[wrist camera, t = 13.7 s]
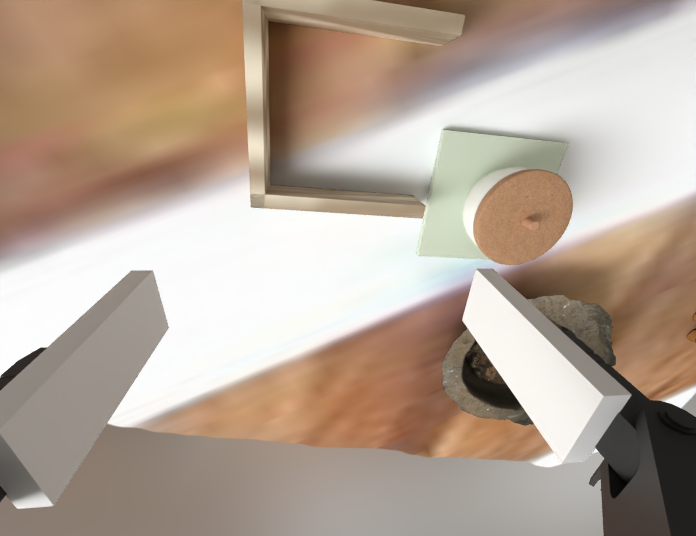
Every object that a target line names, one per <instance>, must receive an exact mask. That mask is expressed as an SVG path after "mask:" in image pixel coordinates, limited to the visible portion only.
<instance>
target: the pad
mask: <svg viewBox="0 0 696 536" xmlns="http://www.w3.org/2000/svg"><path fill="white" fill-rule="evenodd" d="M568 144H569V143H563V142H553V141H544V140H534V139H525V138H515V137H506V136H496V135H487V134H477V133H468V132H459V131H449V130H442V132H441V136H440V141H439V146H438V151H437V155H436V160H435V165H434V170H433V175H432V179H431V184H430V189H429V194H428V199H427V203H426V208H425V213H424V218H423V222H422V227H421V232H420V237H419V242H418V246H417V251H416V254H417V255H418V256H429V257H450V258H470V259H489V258H488V257H487V256H485V255H484V254H483V253H482V252H481V250H480V249H479V248H478V247H476V246H475V244H474V243H473V242H472V241H471V239H470V238H469V237H468V235H467V233H466V231H465V229H464V225H463V219H462V209H463V204H464V202H465V199H466V197H467V195H468V193H469V191H470V190H471V189H472V187H473V186H474V185H475V184H476V183H477V182H478V181H479V180H480V179H482V178H483V177H485V176H486V175H488V174H490V173H492V172H494V171H497V170H500V169H504V168H510V167H527V168H532V169H542V170H547V171H550V172H553V173H555V174H557V172H558V170H559V167H560V165H561V162H562V159H563V157H564V154H565V151H566V149H567V146H568Z"/></svg>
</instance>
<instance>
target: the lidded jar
mask: <svg viewBox="0 0 696 536" xmlns="http://www.w3.org/2000/svg"><path fill="white" fill-rule="evenodd" d="M572 207H573V201H572V194H571V191H570V188H569V186H568V185H567V183H566V182H565V181H564V180H563V178H561V177H560V176H559V175H557V174H555V173H553V172H550V171H547V170H542V169H532V168H527V167H510V168H504V169H500V170H497V171H494V172H492V173H490V174H488V175H486V176H485V177H483V178H482V179H480V180H479V181H478V182H477V183H476V184H475V185H474V186H473V187H472V189H471V190H470V191H469V193H468V195H467V197H466V199H465V202H464V204H463V209H462V219H463V225H464V229H465V231H466V233H467V235H468V237H469V238H470V239H471V241H472V242H473V243H474V244H475V246H476V247H478V248H479V249H480V250H481V252H482V253H483V254H484V255H485V256H487V257H488V258H489V259H491V260H492V261H494V262H497V263H500V264H505V265H517V264H522V263H526V262H529V261H531V260H534V259H536V258H538V257H539V256H541V255H543V254H544V253H545V252H547V251H548V250H549V249H550V248H552V247H553V246H554V245H555V244H556V243H557V241H558V240H559V239H560V238H561V236H562V235H563V233H564V232H565V230H566V228H567V226H568V224H569V221H570V218H571V214H572Z"/></svg>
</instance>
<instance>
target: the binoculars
mask: <svg viewBox="0 0 696 536" xmlns="http://www.w3.org/2000/svg"><path fill="white" fill-rule="evenodd" d="M693 319H694V321H696V314H695V315H694V317H693ZM688 339H689V340H691V341H693V342H695V343H696V330H694V331H692V332H691V333H690V334H689V335H688Z"/></svg>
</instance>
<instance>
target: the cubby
mask: <svg viewBox="0 0 696 536" xmlns="http://www.w3.org/2000/svg"><path fill="white" fill-rule="evenodd" d="M242 9H243V32H244V56H245V79H246V103H247V126H248V150H249V173H250V197H251V207H254V208H269V209H285V210H300V211H315V212H331V213H346V214H362V215H377V216H392V217H408V218H423V216H424V211H425V207H426V206H425V205H424V204H423V203H421V202H420V201H419V200H418V199H417V198H415V197H414V196H411V195H398V194H384V193H371V192H357V191H344V190H331V189H317V188H304V187H291V186H277V185H271V182H270V110H269V37H268V21H270V22H277V23H284V24H291V25H298V26H305V27H312V28H319V29H326V30H333V31H340V32H347V33H354V34H361V35H367V36H374V37H381V38H388V39H395V40H402V41H409V42H416V43H423V44H430V45H437V46H442V45H444V44H446V43H448V42H450V41H452V40H453V39H455V38H457V37H459V36H461V34H462V29H463V24H464V20H465V15H462V14H456V13H450V12H443V11H437V10H431V9H425V8H418V7H412V6H406V5H400V4H393V3H387V2H381V1H374V0H242Z"/></svg>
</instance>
